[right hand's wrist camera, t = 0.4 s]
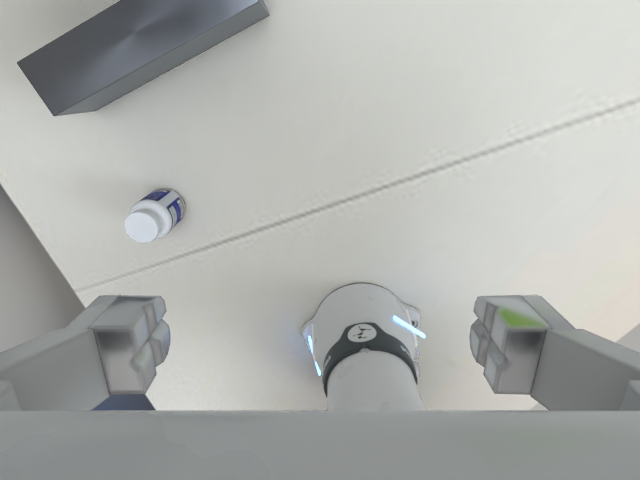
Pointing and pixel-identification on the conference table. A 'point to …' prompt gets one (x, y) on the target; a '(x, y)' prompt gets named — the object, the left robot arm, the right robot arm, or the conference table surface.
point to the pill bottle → (154, 215)
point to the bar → (130, 48)
